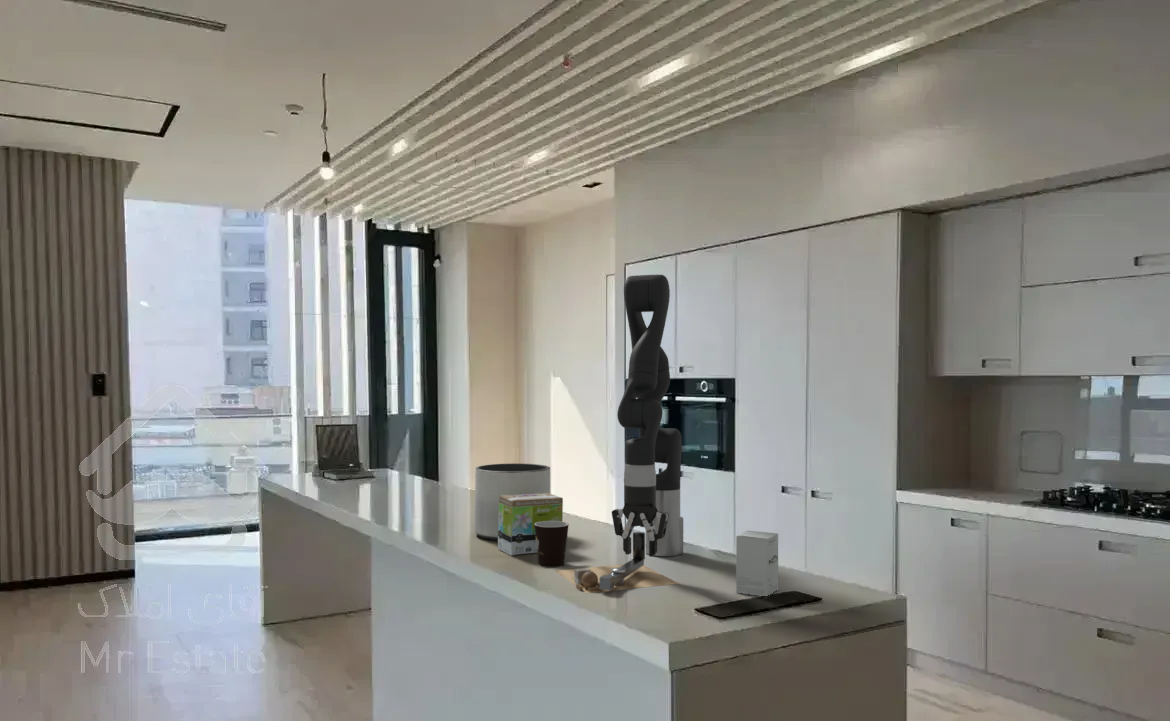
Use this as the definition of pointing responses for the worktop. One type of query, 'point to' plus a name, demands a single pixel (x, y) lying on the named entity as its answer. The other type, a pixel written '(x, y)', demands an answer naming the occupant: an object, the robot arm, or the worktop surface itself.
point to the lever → (628, 568)
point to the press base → (634, 580)
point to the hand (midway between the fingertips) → (640, 554)
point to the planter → (504, 491)
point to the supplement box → (756, 563)
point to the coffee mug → (551, 542)
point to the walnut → (589, 579)
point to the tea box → (525, 520)
